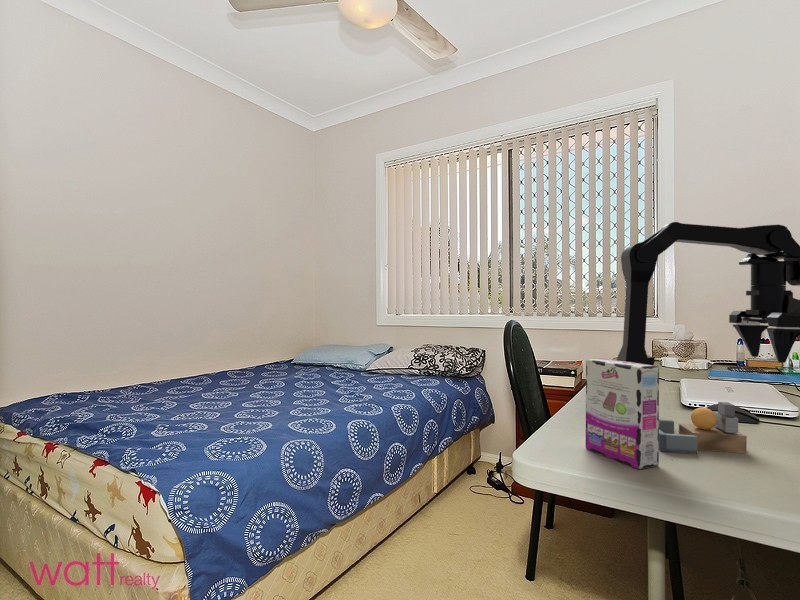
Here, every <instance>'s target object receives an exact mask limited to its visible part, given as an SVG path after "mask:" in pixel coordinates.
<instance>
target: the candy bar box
mask: <svg viewBox="0 0 800 600" xmlns="http://www.w3.org/2000/svg"><path fill="white" fill-rule="evenodd" d="M659 399H660V366H659V365H654V366H653V365H646V364H640V363H632V362H625V361H617V359H610V358H592V359H591V358H590V359H586V360H585V449H586V450H589V451H591V452H594V453H596V454H599V455H602V456H603V457H606V458H608V459H611V460H614V461H615V462H618V463H620V464H621V463H622V464H623V465H624V464H625V465H627V466H629V467H632V468H635V469H637V470H642V469H648V468H654V467H658V466H659V462H660V459H659V458H660V455H659V452H660V451H659V419H660V418H659V417H660V416H659V415H660V411H659V410H660V406H659V405H660V400H659Z"/></svg>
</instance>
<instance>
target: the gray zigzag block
mask: <svg viewBox="0 0 800 600" xmlns="http://www.w3.org/2000/svg"><path fill="white" fill-rule="evenodd" d="M735 407H736V406H735V404H733V403H730V402H728V401H727V402H726V401H718V402H717V411H715V410H713V412H714V414H715V415H716V417H717V423H716V425H715V427H717V428H719V429H721V430H722V431H724V432H728V433H738V432H739V418H738V417H736V416H735V415H736V413H735V412H736V411H735V410H736V408H735Z"/></svg>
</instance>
